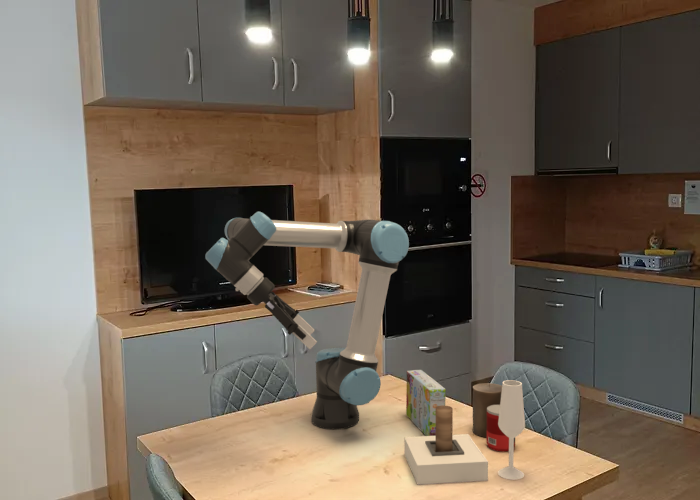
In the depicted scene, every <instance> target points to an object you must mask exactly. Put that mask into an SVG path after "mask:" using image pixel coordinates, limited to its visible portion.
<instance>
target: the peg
mask: <svg viewBox="0 0 700 500" xmlns="http://www.w3.org/2000/svg"><path fill="white" fill-rule="evenodd" d="M453 410H454V409H453V407H452V406H449V405H446V404H445V405H441V406H437V407H436V452H449V451H452V435H453V425H454V423H453V420H454V419H453V413H454V412H453Z"/></svg>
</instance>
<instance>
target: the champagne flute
mask: <svg viewBox="0 0 700 500" xmlns="http://www.w3.org/2000/svg"><path fill="white" fill-rule="evenodd" d="M523 393H524V392H523V383H522V382H521V381H519V380H514V379H513V380H511V379H510V380H509V379H508V380H503V381H502V393H501V402H500V411H499V420H498V426H499V428H500V430H501V431H502V432H503V433H504V434H505V435H506V436H507V437H509V451H508V466H505V467H503V468H500V469H499V470H498V471H497V475H498V476H499V477H501V478H503V479H505V480H511V481H512V480H514V481H516V480H521V479H523V478H524V477H525V473H524V472H523V471H522V470H520V469H518V468H516V467H514V449H515V447H514V438H515V439H516V438H517V437H518V436H519V435H521V434H522V433H523V431H524V430H525V428H526V418H525V409H524V408H525V407H524V406H525V405H524V395H523Z"/></svg>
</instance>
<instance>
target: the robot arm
mask: <svg viewBox="0 0 700 500" xmlns="http://www.w3.org/2000/svg"><path fill="white" fill-rule="evenodd" d="M224 226H225V227H224V235H225V237H226V238H227V239H226V238H224V237H220V239H218V240H217V241H216V243H214V244H213V245H212V247H211V248H210V249H208V251H206V253H205V258H204V259H205V260H206V261H207V262H208V263H209V264H210V265H211V267H213V269H214V270H215V271H217V272H218V273H219V274H221V275H222V276H223V278H225V279H226V280H227V281H228V282H229V283H230V284H231V285H233V286H234V287H235V292H240V293H241V294H242V295H244V296H246V299H248V300H249V302H251V303H252V304H253V305H254V306H255V307H256V306H258V305H260V304H261V303H262V302H263V303H264V304H265V305H264V307H265V309H267V310H268V311H269V312H270V313H271V314H272V316H274V318H276V320H277V321H278V322H279V323H280V324H281V325H282V326H283V327H284V328H285V329H286V330H287V334H288V335H289V336H291V335H293V336H295V338H297V339H298V341H300V342H301V343H302V344H303V345H304V346H305V347H306V348H307V349H308V350H311V349H313V347H314V346H315V345H316V344H317V343H318V341H317V340H316V339H315V338H314V337H313V336H312V334H313V333H314V332H315V328H314V327H312V326H311V325H310V324H309V323H308V322H307V321H306V320H305V319H304V318H303V317H302V316H301V315H300V314H299V313H300V311H299V310H298V309H295V308H293V307H292V306H291V305H289V304H288V302H285V301H284V300H283V299H282V298H280V297H279V295H277V294H276V293H275V292H273V290H274V289H275V286H276V285H275V284H274V283H273V282H272V281H271V280H270V279H269V278H268V277H264V273H263V272H262V271H260V270H259V269H258V268H257V266H255V264H253V263H251V262H250V259H252V258H253V256H255V254H256V253H257V252H258V251H259V250H260V249H262V248H263V246H273V247H276V246H277V247H296V248H300V247H301V248H319V249H335V251H337V252H338V253H348V254H354V255H357V256H359V257H358V264H359V266H360V267H361V273H360V279H359V283H358V289H357V291H356V298H355V303H354V307H353V312H352V318H351V323H350V327H349V331H348V338H347V341H346V342H347V343H346V347H333V348H332V347H331V348H324V349H321V350H319V351H317V353H316V355H315V376H316V377H315V380H316V383H315V384H316V386H315V387H316V388H315V389H316V398H315V403H314V404H313V407H312V411H311V414H310V415H311V423H312V425H314V426H315V427H318V428H321V429H325V430H326V429H327V430H341V429H342V430H343V429H349V428H351V427H353V426H356V425H358V423H359V422H360V412H359V409H358V406H363V405H367V404H369V403H370V402H372V401H373V400H374V399H375V398H376V397H377V395H378V393H379V391H380V390H381V377H380V376H379V375H380V374H379V373H378V372H377V369H378V366H379V359H378V358H377V356H376V350H377V349H376V348H377V344H378V339H379V334H380V329H381V325H382V319H383V314H384V308H385V304H386V299H387V294H388V289H389V286H390V285H389V284H390V281H391V275H392V274H394V273H395V272H397V271H398V266H399V263H400V261H402V260H403V259H404V258H405V257H406V256H407V254H408V251H409V248H410V247H409V246H410V242H409V241H410V240H409V237H408V234H407V232H406V230H405V229H404V228H403V227H402V226H401V225H400V224H398V223H396V222H393V221H390V220H375V219H361V220H359V219H358V220H338V221H337V222H336V223H334V222H333V223H332V222H331V223H328V222H312V221H311V222H310V221H296V220H295V221H294V220H278V219H271V218H270V217H269V216H268V215H267V214H265V213H264V212H261V211H256V212H255V213H254V214H253V215H252V216H251V215H250V217H249V218H243V217H234V218H232V219H230V220H228V221H227V222H226V224H225V225H224Z"/></svg>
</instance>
